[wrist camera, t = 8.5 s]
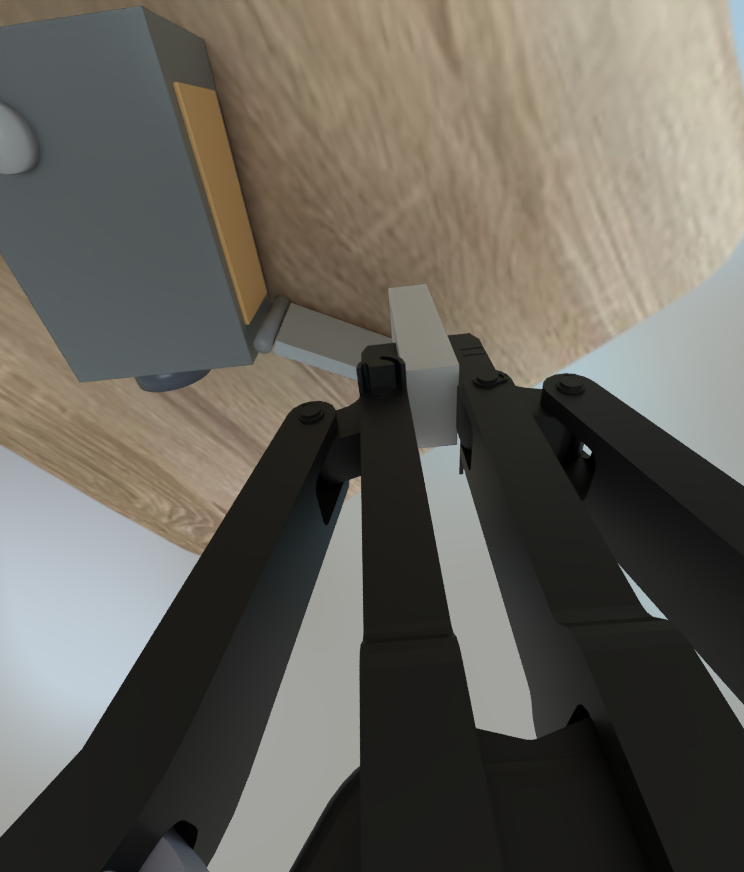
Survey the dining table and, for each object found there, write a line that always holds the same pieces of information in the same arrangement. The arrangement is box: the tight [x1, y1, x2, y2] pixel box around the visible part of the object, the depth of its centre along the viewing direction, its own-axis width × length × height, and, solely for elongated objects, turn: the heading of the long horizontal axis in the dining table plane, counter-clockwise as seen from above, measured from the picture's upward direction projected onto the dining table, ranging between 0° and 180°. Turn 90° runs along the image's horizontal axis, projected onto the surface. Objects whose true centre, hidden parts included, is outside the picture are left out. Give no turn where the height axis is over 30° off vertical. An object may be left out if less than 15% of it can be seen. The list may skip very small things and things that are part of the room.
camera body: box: [0, 6, 271, 392], centre depth 22 cm, size 16×10×8 cm, turn 6°
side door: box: [253, 295, 392, 381], centre depth 26 cm, size 13×2×7 cm, turn 69°
